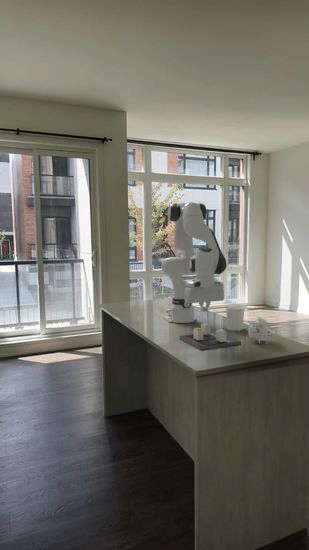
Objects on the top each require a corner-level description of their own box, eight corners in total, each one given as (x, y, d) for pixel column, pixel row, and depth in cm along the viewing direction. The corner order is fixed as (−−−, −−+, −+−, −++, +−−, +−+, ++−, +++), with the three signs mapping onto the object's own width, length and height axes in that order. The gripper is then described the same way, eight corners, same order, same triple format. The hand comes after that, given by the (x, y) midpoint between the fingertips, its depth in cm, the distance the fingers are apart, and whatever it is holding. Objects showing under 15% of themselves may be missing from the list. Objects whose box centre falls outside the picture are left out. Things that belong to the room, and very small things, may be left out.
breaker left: (200, 333, 178) (200, 323, 178) (206, 332, 180) (206, 322, 179) (205, 334, 175) (205, 325, 174) (210, 334, 176) (210, 324, 175)
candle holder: (230, 331, 189) (230, 309, 188) (223, 327, 199) (223, 306, 198) (247, 330, 191) (247, 308, 190) (239, 326, 200) (239, 305, 199)
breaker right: (216, 340, 166) (216, 329, 165) (221, 339, 167) (221, 328, 166) (220, 342, 162) (220, 331, 161) (226, 341, 163) (226, 330, 163)
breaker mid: (193, 338, 169) (193, 327, 168) (199, 337, 170) (199, 327, 170) (197, 340, 165) (197, 329, 165) (203, 339, 166) (203, 328, 166)
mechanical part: (272, 347, 161) (272, 321, 160) (245, 343, 166) (246, 318, 165) (276, 341, 170) (277, 316, 169) (251, 338, 176) (252, 314, 175)
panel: (179, 338, 175) (179, 335, 175) (217, 334, 184) (217, 331, 183) (199, 350, 157) (199, 346, 157) (241, 344, 165) (241, 340, 165)
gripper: (219, 280, 173) (219, 308, 175) (182, 282, 165) (182, 311, 166) (227, 281, 168) (226, 310, 169) (189, 284, 159) (189, 314, 161)
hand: (204, 311), depth 168 cm, fingers closed
